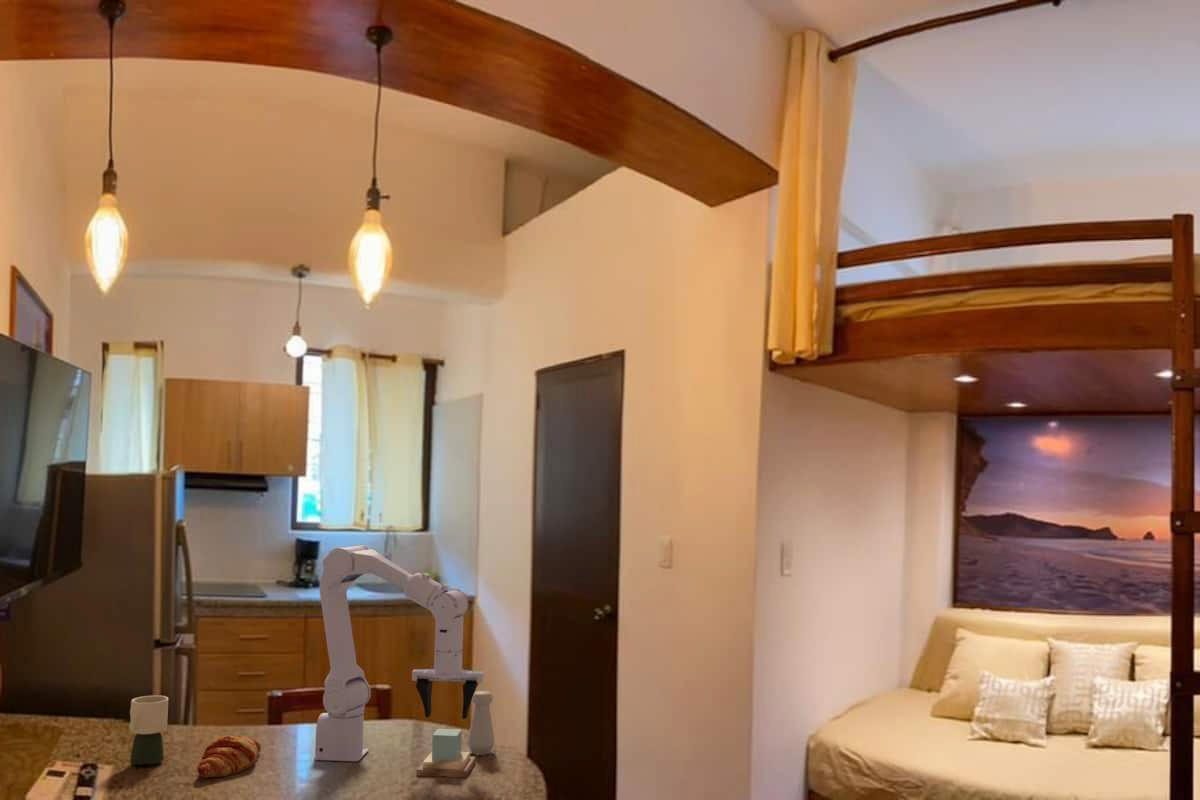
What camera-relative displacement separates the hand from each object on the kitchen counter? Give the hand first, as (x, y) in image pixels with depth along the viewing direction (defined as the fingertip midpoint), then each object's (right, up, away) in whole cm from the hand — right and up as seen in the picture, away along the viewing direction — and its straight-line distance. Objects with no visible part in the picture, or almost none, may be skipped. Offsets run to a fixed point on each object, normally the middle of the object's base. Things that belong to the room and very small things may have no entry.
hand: (446, 716), depth 205 cm
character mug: (-61, -9, -1) cm, 62 cm away
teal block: (0, -8, -1) cm, 8 cm away
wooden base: (0, -10, -1) cm, 10 cm away
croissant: (-43, -10, -2) cm, 44 cm away
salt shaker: (+6, -11, +11) cm, 17 cm away
